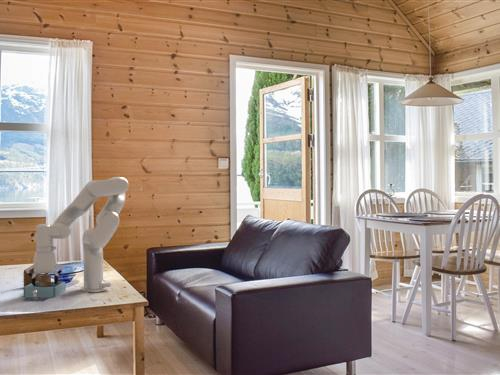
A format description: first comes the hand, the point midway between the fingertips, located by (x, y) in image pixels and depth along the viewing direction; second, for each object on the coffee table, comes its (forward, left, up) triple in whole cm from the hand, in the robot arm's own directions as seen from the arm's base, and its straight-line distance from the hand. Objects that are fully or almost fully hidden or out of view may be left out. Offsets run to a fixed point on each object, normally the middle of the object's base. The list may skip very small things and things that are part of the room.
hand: (45, 284), depth 245 cm
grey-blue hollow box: (0, +11, -5) cm, 12 cm away
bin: (0, 0, -5) cm, 5 cm away
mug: (+12, -19, -6) cm, 23 cm away
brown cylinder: (0, 0, -4) cm, 4 cm away
